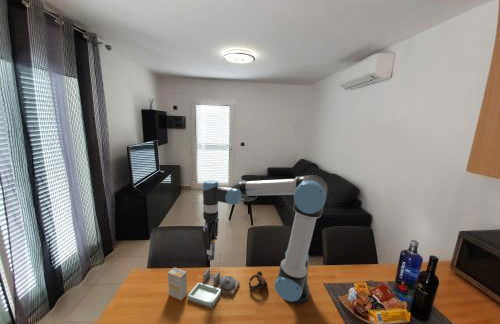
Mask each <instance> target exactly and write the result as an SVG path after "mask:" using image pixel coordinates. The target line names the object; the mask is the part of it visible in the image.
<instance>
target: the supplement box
mask: <svg viewBox="0 0 500 324" xmlns="http://www.w3.org/2000/svg"><path fill="white" fill-rule="evenodd" d="M167 280H168V281H167V283H168V284H167V285H168V296H169V297H171V298H173V299H175V300H178V301H179V302H182V301H183V300H184V299H185V298H186V297H188V282H187V281H188V277H187V271H185V270H183V269H180V268H177V267H173V268H172V269H170V270H169V271H167Z"/></svg>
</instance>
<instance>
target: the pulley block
mask: <svg viewBox="0 0 500 324" xmlns="http://www.w3.org/2000/svg"><path fill="white" fill-rule="evenodd" d="M202 276H203V277H202V279H203V280H202V283H203V284H206V285H209V286H213V287H216V288H219V289H221V294H223V295H226V296H230V297H234V295H235V294H236V292H237V289H238V287H239V286H240V280H237V279H235V278H234V277H233V276H230V275H226V276H223V275H221V272H220V271H217V272H215V273H212V272H211V269H210V268H207V269H206V271H204V273H203V274H202Z"/></svg>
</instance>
